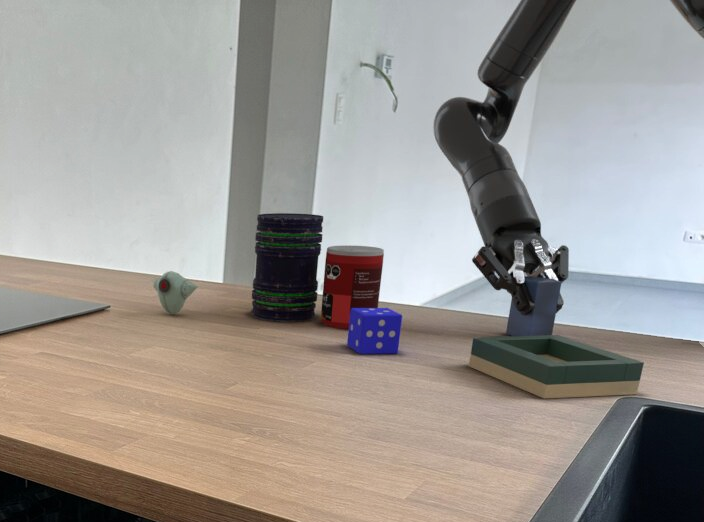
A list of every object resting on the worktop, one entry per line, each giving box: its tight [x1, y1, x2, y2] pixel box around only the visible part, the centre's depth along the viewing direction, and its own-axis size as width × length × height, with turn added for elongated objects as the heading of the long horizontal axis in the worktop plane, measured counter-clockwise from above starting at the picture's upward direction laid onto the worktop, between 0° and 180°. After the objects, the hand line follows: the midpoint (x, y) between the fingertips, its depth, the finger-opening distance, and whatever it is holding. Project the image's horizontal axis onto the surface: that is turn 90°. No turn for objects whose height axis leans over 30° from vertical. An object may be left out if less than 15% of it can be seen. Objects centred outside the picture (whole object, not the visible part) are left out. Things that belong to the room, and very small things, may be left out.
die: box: [346, 307, 403, 355], centre depth 110 cm, size 5×5×5 cm
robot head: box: [152, 270, 199, 316], centre depth 132 cm, size 8×4×7 cm, turn 46°
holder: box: [468, 334, 645, 400], centre depth 96 cm, size 11×14×4 cm
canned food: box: [320, 244, 385, 330], centre depth 124 cm, size 8×8×11 cm
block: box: [505, 275, 563, 337], centre depth 117 cm, size 4×5×8 cm
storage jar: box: [251, 212, 324, 323], centre depth 130 cm, size 10×10×15 cm
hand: (542, 311), depth 115 cm, fingers closed on block, 3 cm apart
